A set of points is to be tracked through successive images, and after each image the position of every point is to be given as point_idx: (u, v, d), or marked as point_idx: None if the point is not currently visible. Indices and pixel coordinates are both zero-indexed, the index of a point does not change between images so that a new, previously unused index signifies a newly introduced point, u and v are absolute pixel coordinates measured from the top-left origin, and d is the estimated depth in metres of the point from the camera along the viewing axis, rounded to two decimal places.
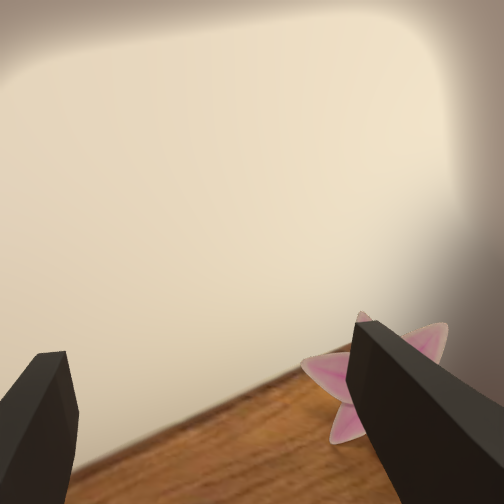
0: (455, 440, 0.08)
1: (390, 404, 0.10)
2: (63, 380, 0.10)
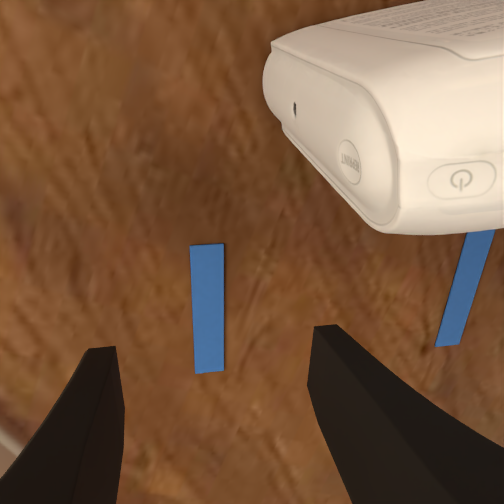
0: (397, 449, 0.08)
1: (344, 410, 0.10)
2: (115, 375, 0.10)
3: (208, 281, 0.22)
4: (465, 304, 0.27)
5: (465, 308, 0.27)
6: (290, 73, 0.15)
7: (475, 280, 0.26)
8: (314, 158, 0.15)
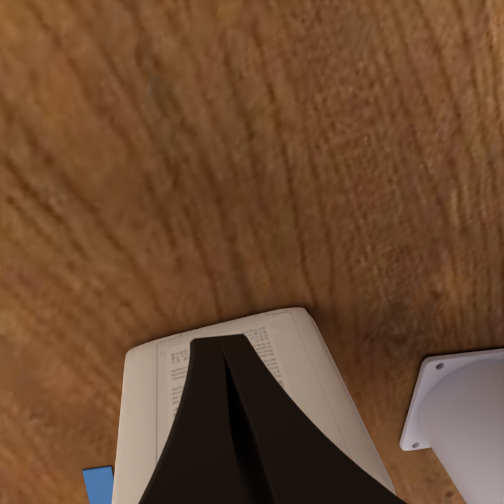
0: (260, 470, 0.07)
1: (235, 425, 0.09)
2: None
3: (101, 491, 0.27)
4: None
5: None
6: None
7: None
8: None
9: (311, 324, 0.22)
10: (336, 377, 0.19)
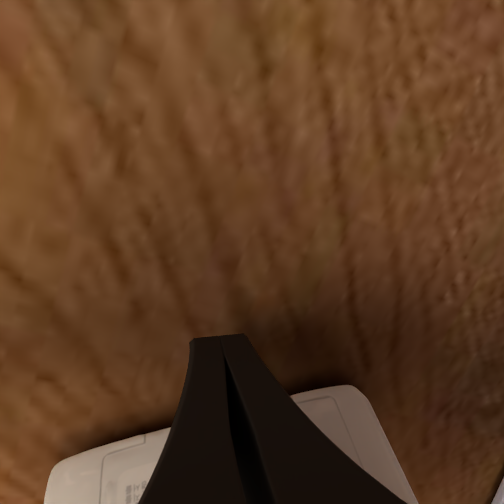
0: (260, 470, 0.07)
1: (235, 425, 0.09)
2: None
3: None
4: None
5: None
6: None
7: None
8: None
9: (374, 428, 0.12)
10: None
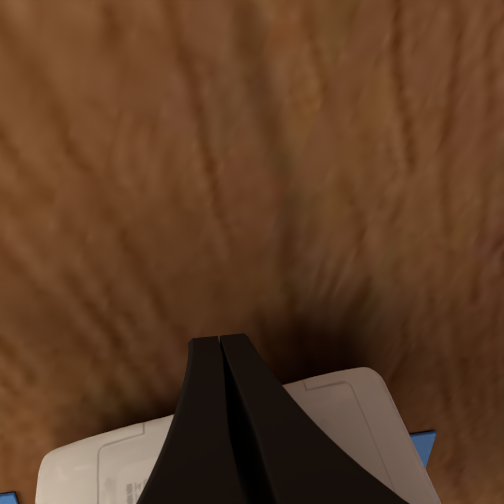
0: (262, 470, 0.07)
1: (237, 425, 0.09)
2: None
3: None
4: None
5: None
6: None
7: None
8: None
9: (395, 419, 0.11)
10: None
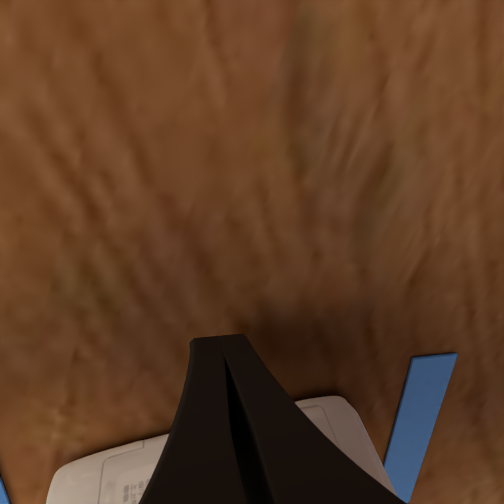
0: (260, 470, 0.07)
1: (235, 425, 0.09)
2: None
3: None
4: (416, 454, 0.17)
5: (415, 459, 0.17)
6: None
7: (428, 425, 0.16)
8: None
9: (360, 434, 0.13)
10: None
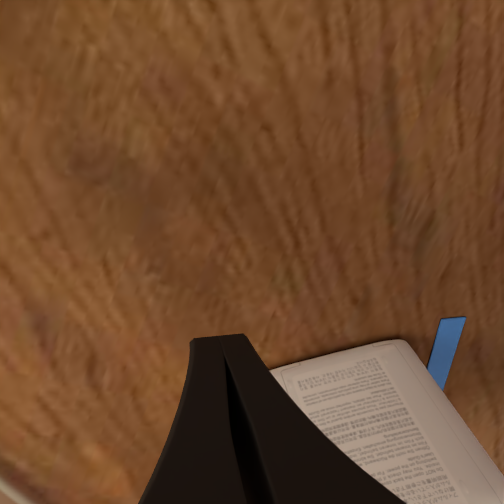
0: (260, 470, 0.07)
1: (235, 425, 0.09)
2: None
3: None
4: (441, 379, 0.29)
5: (440, 382, 0.30)
6: None
7: (449, 360, 0.28)
8: None
9: (416, 356, 0.25)
10: (451, 405, 0.22)
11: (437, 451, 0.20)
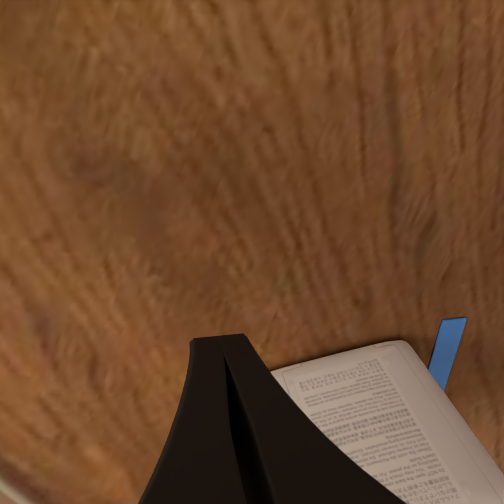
0: (260, 470, 0.07)
1: (235, 425, 0.09)
2: None
3: None
4: (442, 380, 0.29)
5: (441, 383, 0.30)
6: None
7: (450, 361, 0.29)
8: None
9: (417, 356, 0.25)
10: (452, 406, 0.22)
11: (438, 452, 0.20)
